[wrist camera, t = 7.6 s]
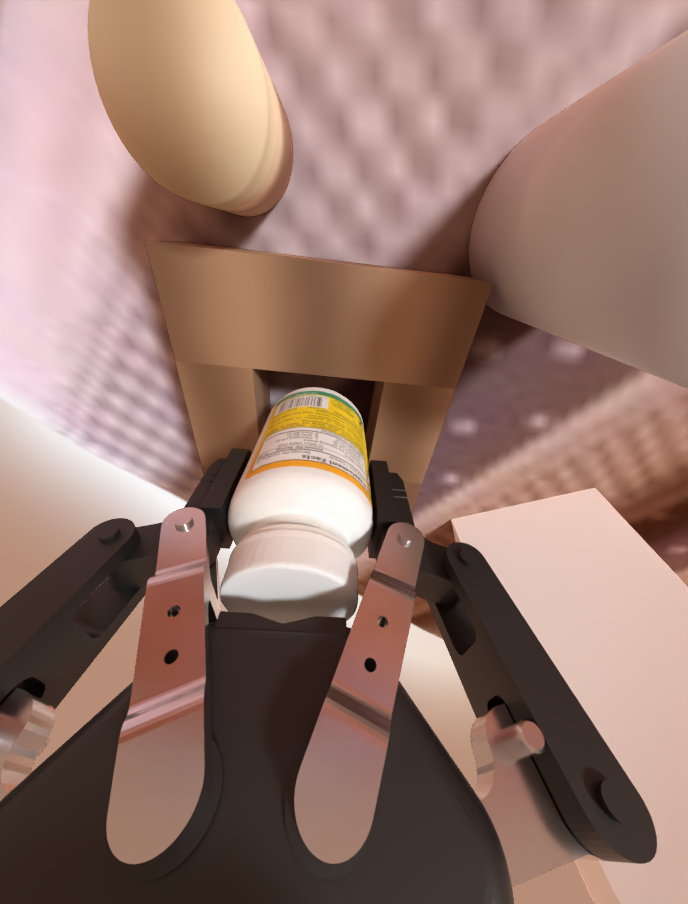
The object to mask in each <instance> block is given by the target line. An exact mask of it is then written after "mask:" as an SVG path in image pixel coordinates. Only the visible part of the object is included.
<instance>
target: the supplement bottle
mask: <svg viewBox="0 0 688 904" xmlns="http://www.w3.org/2000/svg"><path fill="white" fill-rule="evenodd" d="M228 525H229V530H230V533H231V536H232V538H233V540H234V542H235V544H236V545H237V546H236V547H235V548H234V550H233V551H232V553H231V555H230V559H229V564H228V567H227V569H226V572H225V575H224V578H223V581H222V584H221V588H220V598H221V602H222V603H223V605H224V606H225V607H226V609H227V610H228V611H229V612H244V613H253V614H256V615H259V616H262V617H265V618H268V619H270V620H273V621H276V622H279V623H288V622H292V621H297V620H301V619H306V618H310V617H314V616H323V617H343V618H346V621H347V620H348V619H349V618H350V617H351V616H352V615H353V614H354V613H355V611H356V608H357V604H358V567H357V563H356V559H357V558H358V557H359V556H360V555H361V554H362V553H363V552H364V550H365V549H366V547H367V545H368V543H369V541H370V539H371V536H372V532H373V503H372V498H371V489H370V479H369V469H368V459H367V449H366V441H365V433H364V426H363V420H362V417H361V415H360V413H359V411H358V410H357V408H356V407H355V406H354V404H353V403H352V402H351V401H349V400H348V399H347V398H346V397H344V396H342V395H341V394H339V393H337V392H335V391H333V390H330V389H325V388H318V387H308V388H301V389H298V390H295V391H292V392H290V393H288V394H287V395H285V396H284V397H282V398H281V399H280V400H279V401H278V402H277V403H276V404H275V406H274V407H273V408H272V410H271V412H270V414H269V416H268V419H267V421H266V423H265V425H264V428H263V430H262V432H261V435H260V437H259V439H258V441H257V444H256V446H255V448H254V451H253V453H252V455H251V457H250V459H249V462H248V464H247V466H246V468H245V470H244V473H243V475H242V477H241V479H240V481H239V483H238V486H237V488H236V490H235V492H234V495H233V497H232V500H231V502H230V506H229V510H228Z"/></svg>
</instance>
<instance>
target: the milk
mask: <svg viewBox="0 0 688 904" xmlns="http://www.w3.org/2000/svg"><path fill="white" fill-rule="evenodd" d="M451 522H452V527H453V532H454V537H455V542H462V543H467V544H469V545H471V546H473V547H475V548H476V549H477V550H478V551H480V553H481V554H482V555H483V556H484V558H485V559H486V561H487V562H488V564H489V565H490V567H491V568H492V570H493V571H494V573H495V574H496V576H497V577H498V579H499V581H500V582H501V584H502V585H503V587H504V588H505V590H506V591H507V593H508V594H509V596H510V597H511V599H512V600H513V602H514V603H515V605H516V606H517V608H518V609H519V611H520V613H521V614H522V616H523V617H524V619H525V620H526V622H527V623H528V625H529V626H530V628H531V629H532V631H533V632H534V634H535V635H536V637H537V638H538V640H539V642H540V643H541V645H542V646H543V648H544V649H545V651H546V652H547V654H548V655H549V657H550V658H551V660H552V661H553V663H554V664H555V666H556V667H557V669H558V671H559V672H560V674H561V675H562V677H563V678H564V680H565V681H566V683H567V684H568V686H569V687H570V689H571V690H572V692H573V693H574V695H575V696H576V698H577V699H578V701H579V703H580V704H581V706H582V707H583V709H584V710H585V712H586V713H587V715H588V716H589V718H590V719H591V721H592V722H593V724H594V725H595V727H596V728H597V730H598V732H599V733H600V735H601V736H602V738H603V739H604V741H605V742H606V744H607V745H608V747H609V748H610V750H611V751H612V753H613V754H614V756H615V757H616V759H617V761H618V762H619V764H620V765H621V767H622V768H623V770H624V771H625V773H626V774H627V776H628V777H629V779H630V780H631V782H632V783H633V785H634V786H635V788H636V789H637V791H638V793H639V794H640V796H641V798H642V799H643V801H644V803H645V805H646V807H647V809H648V811H649V813H650V815H651V818H652V820H653V824H654V827H655V831H656V836H657V850H656V854H655V856H654V858H653V859H652V860H651V861H650V862H648V863H645V864H636V863H623V862H611V861H598V860H585V859H576V860H574V861H575V864H576V866H577V868H578V870H579V872H580V875H581V877H582V879H583V881H584V884H585V886H586V888H587V890H588V892H589V895H590V897H591V899H592V900H593V901H594V902H595V903H596V904H688V587H687V586H686V584H685V583H684V582H683V581H682V580H681V579H680V578H679V577H678V576H677V575H676V574H675V573H674V572H673V571H672V570H671V568H670V567H669V566H668V565H667V564H666V563H665V562H664V561H663V560H662V559H661V558H660V557H659V556H658V555H657V553H656V552H655V551H654V550H653V549H652V548H651V547H650V546H649V545H648V544H647V543H646V542H645V541H644V540H643V539H642V537H641V536H640V535H639V534H638V533H637V532H636V531H635V530H634V529H633V528H632V527H631V526H630V525H629V524H628V522H627V521H626V520H625V519H624V518H623V517H622V516H621V515H620V514H619V513H618V512H617V511H616V510H615V509H614V508H613V506H612V505H611V504H610V503H609V502H608V501H607V500H606V499H605V498H604V497H603V496H602V495H601V494H600V493H599V491H598V490H597V489H596V488H592V489H587V490H583V491H578V492H573V493H569V494H564V495H560V496H555V497H551V498H546V499H542V500H537V501H532V502H528V503H523V504H519V505H514V506H510V507H505V508H501V509H496V510H491V511H487V512H482V513H478V514H473V515H469V516H464V517H460V518H455V519H451Z"/></svg>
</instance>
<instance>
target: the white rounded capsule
mask: <svg viewBox="0 0 688 904" xmlns="http://www.w3.org/2000/svg"><path fill="white" fill-rule="evenodd" d="M469 267H470V273H471V277H472V278H475V279H479V280H483V281H487V282H491V283H493V286H492V289H491V292H490V294H489V297H488V300H487V303H486V304H487V305H488V306H489V307H490V308H492V309H493V310H495V311H496V312H498V313H500V314H502V315H505V316H507V317H510V318H512V319H515V320H517V321H520V322H522V323H525V324H527V325H530V326H532V327H535V328H537V329H540V330H542V331H545V332H547V333H550V334H552V335H555V336H557V337H560V338H562V339H565V340H567V341H570V342H572V343H575V344H577V345H580V346H582V347H585V348H587V349H590V350H592V351H595V352H597V353H600V354H602V355H605V356H607V357H610V358H612V359H615V360H617V361H620V362H622V363H625V364H627V365H630V366H632V367H635V368H637V369H640V370H642V371H645V372H647V373H650V374H652V375H655V376H657V377H660V378H662V379H665V380H667V381H670V382H672V383H675V384H677V385H680V386H683V387H686V388H688V30H687V31H685V32H684V33H682V34H680V35H679V36H677V37H676V38H674V39H673V40H671V41H670V42H668V43H667V44H665V45H663V46H662V47H660V48H659V49H657V50H656V51H654V52H653V53H651V54H649V55H648V56H646V57H645V58H643V59H642V60H640V61H639V62H637V63H636V64H634V65H632V66H631V67H629V68H628V69H626V70H625V71H623V72H622V73H620V74H618V75H617V76H615V77H614V78H612V79H611V80H609V81H608V82H606V83H605V84H603V85H601V86H600V87H598V88H597V89H595V90H594V91H592V92H591V93H589V94H587V95H586V96H584V97H583V98H581V99H580V100H578V101H577V102H575V103H574V104H572V105H570V106H569V107H567V108H566V109H564V110H563V111H561V112H560V113H558V114H556V115H555V116H553V117H552V118H550V119H549V120H547V121H546V122H544V123H543V124H541V125H540V126H538V127H537V128H535V129H534V130H533V131H532V132H531V133H530V134H528V135H527V136H526V137H525V138H524V139H523V140H522V141H521V142H520V143H519V144H518V145H517V146H516V147H515V148H514V149H513V150H512V151H511V152H510V153H509V155H508V156H507V157H506V158H505V160H504V161H503V162H502V163H501V165H500V166H499V168H498V169H497V171H496V172H495V174H494V175H493V177H492V179H491V180H490V182H489V184H488V186H487V188H486V190H485V192H484V194H483V196H482V198H481V201H480V203H479V205H478V208H477V211H476V214H475V217H474V220H473V224H472V229H471V234H470V241H469Z"/></svg>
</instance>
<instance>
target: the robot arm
mask: <svg viewBox="0 0 688 904" xmlns="http://www.w3.org/2000/svg"><path fill="white" fill-rule="evenodd" d="M251 455H252V452H251V450H250V449H241V448H232V450H231V451H230V453H229V455H228V457H227V459H225V458H219V459H218V460H216V461H215V462H214V463H212V464H211V465H210V466H209V468H208V470H207V471H206V473H205V475H204V476H203V478H202V479H201V482H200V483H199V484H198V486H197V488H196V489H195V491H194V493H193V494H192V496H191V497H190V499H189V501H188V502H187V504H186V506H185V507H184V508H182V509H179V510H176V511H174V512H173V513H171V514H170V515H169V516H167V517H166V518H165V519H164V521H163V522H162V523H158V524H153V525H148V526H142V527H135V525H134V523H133V522H132V521H130V520H128V519H124V518H118V519H112V520H109V521H106V522H103V523H101V524H99V525H97V526H96V527H94V528H93V529H91V530H90V531H89V532H88V533H87V534H86V535H84V536H83V537H82V538H81V539H80V540H78V541H77V542H76V543H75V544H74V545H73V546H71V547H70V548H69V549H68V550H67V551H66V552H65V553H63V554H62V555H61V556H60V557H59V558H57V559H56V560H55V561H54V562H53V563H52V564H50V565H49V566H48V567H47V568H46V569H45V570H43V571H42V572H41V573H40V574H39V575H37V576H36V577H35V578H34V579H33V580H32V581H30V582H29V583H28V584H27V585H26V586H25V587H23V588H22V589H21V590H20V591H19V592H18V593H16V594H15V595H14V596H13V597H12V598H11V599H9V600H8V601H7V602H6V603H5V604H3V605H2V606H1V607H0V904H514V898H513V891H512V887H514V886H516V885H519V884H521V883H523V882H526V881H528V880H530V879H532V878H535V877H537V876H539V875H542V874H544V873H546V872H548V871H551V870H553V869H555V868H558V867H560V866H562V865H565V864H567V863H569V862H572V861H574V860H576V859H585V860H598V861H611V862H623V863H636V864H645V863H648V862H650V861H651V860H652V859H653V858H654V856H655V854H656V850H657V836H656V831H655V827H654V824H653V820H652V818H651V815H650V813H649V811H648V809H647V807H646V805H645V803H644V801H643V799H642V798H641V796H640V794H639V793H638V791H637V789H636V788H635V786H634V785H633V783H632V782H631V780H630V779H629V777H628V776H627V774H626V773H625V771H624V770H623V768H622V767H621V765H620V764H619V762H618V761H617V759H616V757H615V756H614V754H613V753H612V751H611V750H610V748H609V747H608V745H607V744H606V742H605V741H604V739H603V738H602V736H601V735H600V733H599V732H598V730H597V728H596V727H595V725H594V724H593V722H592V721H591V719H590V718H589V716H588V715H587V713H586V712H585V710H584V709H583V707H582V706H581V704H580V703H579V701H578V699H577V698H576V696H575V695H574V693H573V692H572V690H571V689H570V687H569V686H568V684H567V683H566V681H565V680H564V678H563V677H562V675H561V674H560V672H559V671H558V669H557V667H556V666H555V664H554V663H553V661H552V660H551V658H550V657H549V655H548V654H547V652H546V651H545V649H544V648H543V646H542V645H541V643H540V642H539V640H538V638H537V637H536V635H535V634H534V632H533V631H532V629H531V628H530V626H529V625H528V623H527V622H526V620H525V619H524V617H523V616H522V614H521V613H520V611H519V609H518V608H517V606H516V605H515V603H514V602H513V600H512V599H511V597H510V596H509V594H508V593H507V591H506V590H505V588H504V587H503V585H502V584H501V582H500V581H499V579H498V577H497V576H496V574H495V573H494V571H493V570H492V568H491V567H490V565H489V564H488V562H487V561H486V559H485V558H484V556H483V555H482V554H481V553H480V551H478V550H477V549H476V548H475V547H473V546H471V545H469V544H467V543H462V542H456V543H453V544H451V545H450V546H449V547H448V548H446V547H443V546H441V545H438V544H435V543H432V542H430V541H428V540H426V539H425V538H424V537H423V535H422V533H421V532H420V531H419V530H418V529H417V528H416V527H415V526H414V522H413V518H412V514H411V510H410V506H409V502H408V499H407V494H406V491H405V486H404V482H403V480H402V479H401V477H400V476H399V475H398V474H397V473H391V472H389V470H388V465H387V461H379V460H370V463H369V467H368V469H369V479H370V489H371V498H372V503H373V532H372V536H371V539H370V541H369V543H368V552H369V558H376V564H375V567H374V570H373V572H372V574H371V576H370V579H369V582H368V584H367V587H366V590H365V592H364V595H363V598H362V601H361V604H360V607H359V609H358V612H357V615H356V617H355V620H354V623H353V625H352V628H348V627H346V618H343V617H323V616H314V617H310V618H306V619H301V620H297V621H292V622H288V623H279V622H276V621H273V620H270V619H268V618H265V617H262V616H259V615H256V614H253V613H244V612H224V611H221V606H220V591H219V575H218V561H217V555H218V553H219V551H220V548H230V546H231V544H232V541H233V538H232V536H231V533H230V530H229V525H228V510H229V506H230V502H231V500H232V497H233V495H234V492H235V490H236V488H237V486H238V483H239V481H240V479H241V477H242V475H243V473H244V470H245V468H246V466H247V464H248V462H249V459H250V457H251ZM101 583H102V584H101ZM100 584H101V585H100ZM99 585H100V586H99ZM98 586H99V587H98ZM97 587H98V588H97ZM96 588H97V589H96ZM144 596H145V600H144V608H143V614H142V622H141V629H140V636H139V643H138V650H137V657H136V665H135V671H134V679H133V682H132V683H131V684H130V685H129V686H128V687H126V688H125V689H124V690H123V691H122V692H121V693H120V694H119V695H118V696H116V697H115V698H114V699H113V700H112V701H111V702H110V703H109V704H108V705H106V706H105V707H104V708H103V709H102V710H101V711H100V712H99V713H98V714H96V715H95V716H94V717H93V718H92V719H91V720H90V721H89V722H87V723H86V724H85V725H84V726H83V727H82V728H81V729H80V730H79V731H77V732H76V733H75V734H74V735H73V736H72V737H71V738H70V739H69V740H67V741H66V742H65V743H64V744H63V745H62V746H61V747H60V748H58V750H56V751H55V752H54V753H53V754H52V755H51V756H50V757H49V758H47V759H46V760H45V761H44V762H43V763H42V764H41V765H40V766H38V767H37V768H36V769H35V770H34V771H33V772H32V773H31V770H32V766H33V764H34V761H35V759H36V757H37V756H38V755H39V754H40V753H41V752H42V751H43V750H44V749H45V747H46V746H47V744H48V742H49V739H50V733H51V731H52V728H53V726H54V722H55V708H56V707H57V706H58V705H59V704H60V702H61V701H62V700H63V698H64V697H65V696H66V695H67V693H68V692H69V691H70V690H71V688H72V687H73V686H74V684H75V683H76V682H77V681H78V679H79V678H80V677H81V675H82V674H83V673H84V672H85V671H86V669H87V668H88V667H89V666H90V664H91V663H92V662H93V660H94V659H95V658H96V657H97V655H98V654H99V653H100V652H101V650H102V649H103V648H104V646H105V645H106V644H107V643H108V641H109V640H110V639H111V638H112V636H113V635H114V634H115V633H116V631H117V630H118V629H119V627H120V626H121V625H122V624H123V622H124V621H125V620H126V619H127V617H128V616H129V615H130V614H131V612H132V611H133V610H134V608H135V607H136V606H137V604H138V603H139V602H140V601H141V600H142V598H143V597H144ZM416 596H418V597H421V598H423V599H426V600H427V601H428V604H429V606H430V608H431V611H432V613H433V616H434V618H435V620H436V623H437V625H438V628H439V630H440V632H441V635H442V637H443V639H444V642H445V644H446V647H447V649H448V651H449V653H450V656H451V658H452V661H453V663H454V666H455V668H456V670H457V673H458V675H459V677H460V680H461V682H462V685H463V687H464V689H465V692H466V694H467V697H468V699H469V701H470V704H471V706H472V708H473V711H474V713H475V715H476V718H477V719H476V720H475V721H474V723H473V725H472V728H471V735H470V738H471V746H472V750H473V754H474V758H475V761H476V767H477V784H476V788H475V791H474V790H473V789H472V787H471V786H470V784H469V783H468V781H467V780H466V778H465V777H464V775H463V774H462V772H461V771H460V770H459V768H458V767H457V765H456V764H455V762H454V761H453V759H452V758H451V757H450V755H449V754H448V752H447V751H446V749H445V748H444V746H443V745H442V743H441V742H440V740H439V739H438V737H437V736H436V735H435V733H434V731H433V730H432V729H431V727H430V726H429V724H428V723H427V721H426V720H425V718H424V717H423V715H422V714H421V713H420V711H419V710H418V708H417V707H416V705H415V704H414V702H413V701H412V699H411V698H410V696H409V695H408V694H407V692H406V690H405V689H404V688H403V686H402V685H401V683H400V682H399V677H400V672H401V668H402V662H403V658H404V653H405V648H406V642H407V638H408V633H409V628H410V624H411V619H412V614H413V609H414V604H415V599H416ZM83 602H84V603H83ZM82 603H83V604H82ZM81 604H82V605H81Z"/></svg>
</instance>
